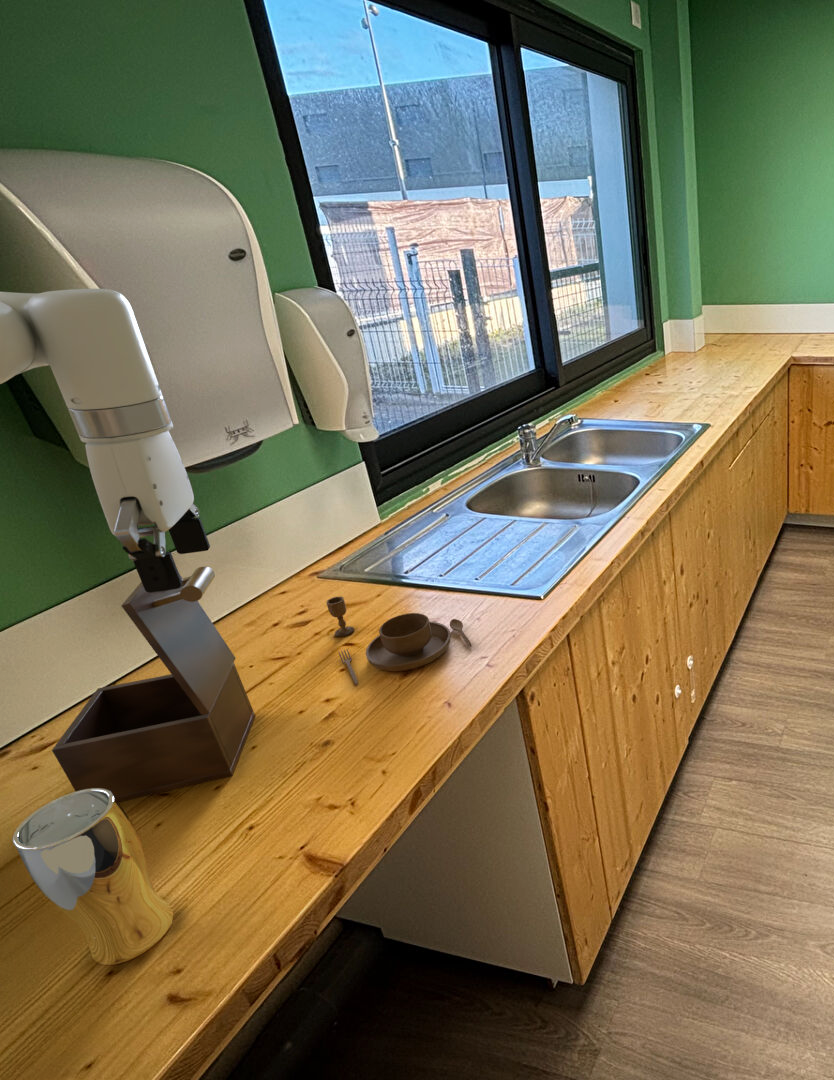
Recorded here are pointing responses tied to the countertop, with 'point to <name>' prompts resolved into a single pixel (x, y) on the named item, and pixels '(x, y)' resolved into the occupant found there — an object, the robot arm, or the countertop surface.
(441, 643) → the place setting
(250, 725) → the chest
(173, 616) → the lid
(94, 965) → the countertop surface
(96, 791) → the beer glass
